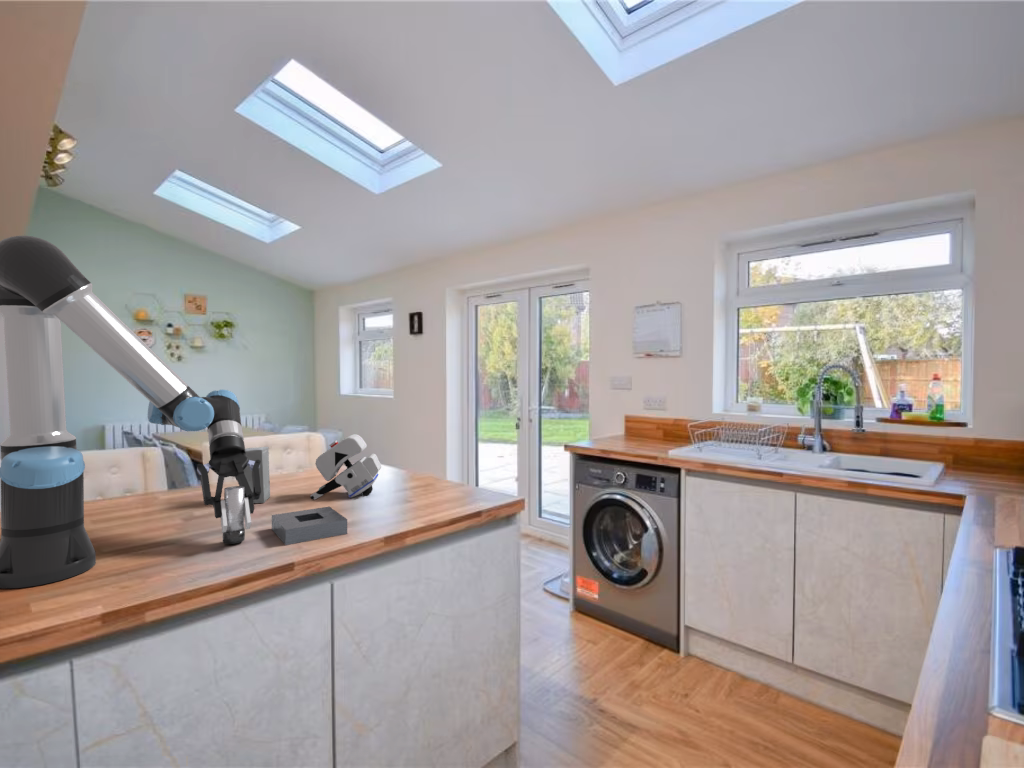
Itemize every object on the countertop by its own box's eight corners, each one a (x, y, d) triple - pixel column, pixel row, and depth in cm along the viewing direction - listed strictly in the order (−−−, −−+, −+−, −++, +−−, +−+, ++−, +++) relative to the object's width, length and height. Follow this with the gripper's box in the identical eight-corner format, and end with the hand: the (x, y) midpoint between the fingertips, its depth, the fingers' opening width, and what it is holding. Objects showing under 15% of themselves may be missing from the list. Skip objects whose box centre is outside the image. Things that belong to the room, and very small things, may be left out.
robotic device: (337, 514, 164) (301, 464, 162) (392, 476, 166) (357, 426, 164) (329, 523, 154) (290, 470, 152) (388, 483, 155) (350, 430, 154)
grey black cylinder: (224, 545, 111) (224, 491, 111) (221, 539, 115) (222, 487, 115) (246, 541, 114) (247, 488, 114) (242, 536, 117) (243, 485, 117)
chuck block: (285, 545, 113) (285, 529, 113) (271, 529, 125) (271, 515, 125) (347, 533, 122) (347, 519, 122) (329, 519, 133) (329, 506, 133)
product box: (264, 503, 148) (264, 449, 148) (237, 504, 146) (238, 450, 146) (271, 496, 156) (271, 445, 156) (246, 497, 155) (246, 446, 154)
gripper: (262, 450, 131) (275, 529, 118) (184, 455, 121) (189, 542, 108) (267, 432, 127) (281, 512, 114) (186, 435, 117) (192, 524, 104)
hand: (236, 527), depth 111 cm, fingers closed on grey black cylinder, 4 cm apart
